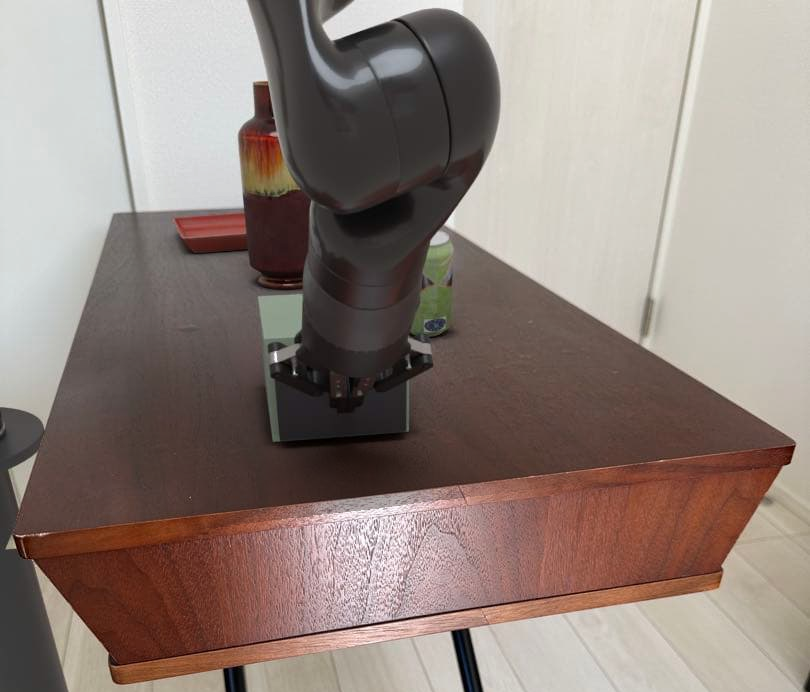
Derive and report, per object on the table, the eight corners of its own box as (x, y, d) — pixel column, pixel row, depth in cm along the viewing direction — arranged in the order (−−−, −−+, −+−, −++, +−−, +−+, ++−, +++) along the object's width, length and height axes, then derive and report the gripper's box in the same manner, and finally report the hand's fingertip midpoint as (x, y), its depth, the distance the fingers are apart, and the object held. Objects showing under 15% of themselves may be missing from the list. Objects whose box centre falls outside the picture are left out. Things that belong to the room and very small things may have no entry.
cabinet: (409, 431, 78) (409, 330, 73) (272, 442, 76) (263, 338, 71) (385, 380, 90) (383, 289, 85) (265, 388, 88) (257, 296, 83)
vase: (335, 275, 128) (327, 80, 115) (311, 293, 119) (299, 84, 105) (267, 270, 130) (252, 79, 117) (238, 288, 121) (218, 83, 108)
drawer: (409, 437, 75) (409, 352, 71) (280, 447, 73) (273, 360, 69) (384, 383, 87) (383, 307, 82) (272, 390, 85) (266, 313, 81)
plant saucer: (184, 257, 138) (181, 236, 136) (174, 235, 153) (171, 216, 151) (292, 249, 143) (291, 229, 141) (272, 229, 158) (271, 210, 156)
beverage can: (443, 323, 107) (445, 224, 101) (458, 340, 101) (462, 237, 95) (395, 326, 106) (394, 226, 100) (407, 344, 100) (408, 239, 94)
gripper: (450, 242, 57) (414, 358, 74) (253, 249, 55) (262, 367, 71) (466, 343, 55) (425, 438, 72) (263, 355, 53) (269, 450, 70)
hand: (344, 402), depth 72 cm, fingers closed
